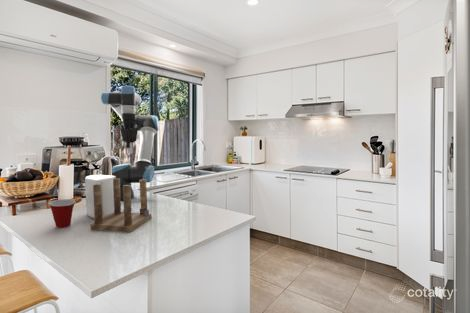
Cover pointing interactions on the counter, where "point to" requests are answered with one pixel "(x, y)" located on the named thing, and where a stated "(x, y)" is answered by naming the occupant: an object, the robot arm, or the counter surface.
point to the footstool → (116, 211)
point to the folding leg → (143, 194)
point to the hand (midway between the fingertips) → (130, 153)
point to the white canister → (106, 194)
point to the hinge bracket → (146, 212)
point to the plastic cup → (62, 212)
